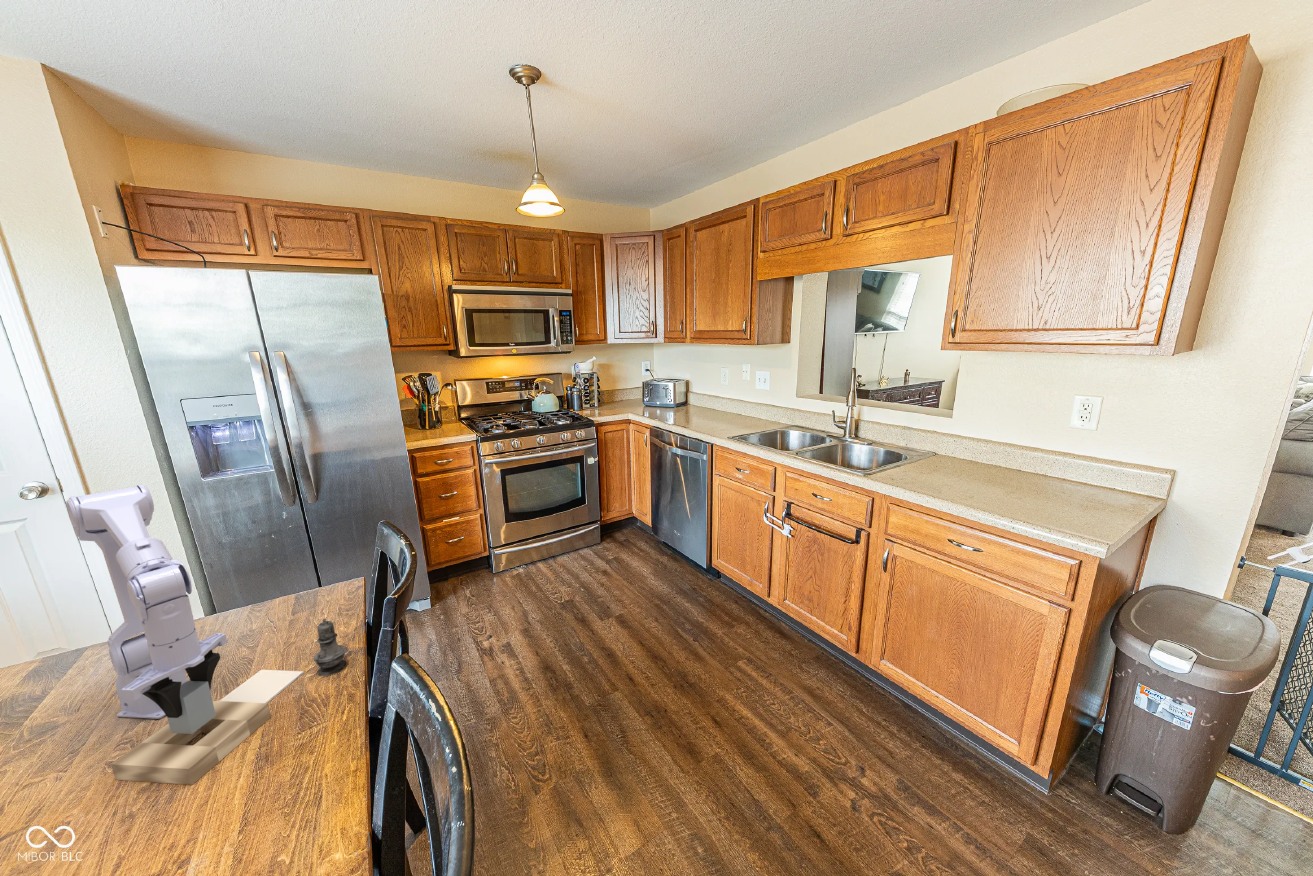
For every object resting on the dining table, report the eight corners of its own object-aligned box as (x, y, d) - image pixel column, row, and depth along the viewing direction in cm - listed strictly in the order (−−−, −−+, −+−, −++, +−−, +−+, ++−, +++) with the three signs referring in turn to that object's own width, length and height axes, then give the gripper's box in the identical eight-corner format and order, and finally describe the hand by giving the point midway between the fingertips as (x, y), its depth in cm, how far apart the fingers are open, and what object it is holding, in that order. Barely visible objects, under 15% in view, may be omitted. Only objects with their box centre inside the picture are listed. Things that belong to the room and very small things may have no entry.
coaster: (215, 705, 91) (214, 704, 91) (261, 671, 101) (261, 669, 101) (261, 708, 90) (261, 706, 90) (303, 673, 100) (303, 671, 100)
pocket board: (115, 779, 76) (110, 764, 75) (204, 713, 89) (201, 700, 89) (192, 784, 74) (188, 769, 74) (270, 717, 88) (268, 703, 87)
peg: (171, 732, 79) (162, 697, 78) (195, 714, 83) (187, 680, 82) (192, 734, 79) (183, 698, 78) (215, 715, 83) (208, 681, 81)
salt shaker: (331, 678, 98) (323, 627, 96) (309, 675, 99) (299, 625, 97) (354, 660, 104) (347, 612, 102) (333, 657, 105) (324, 609, 103)
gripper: (142, 665, 70) (162, 741, 73) (235, 612, 84) (249, 677, 87) (101, 663, 71) (122, 739, 73) (201, 611, 85) (215, 676, 88)
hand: (189, 706), depth 80 cm, fingers closed on peg, 4 cm apart
